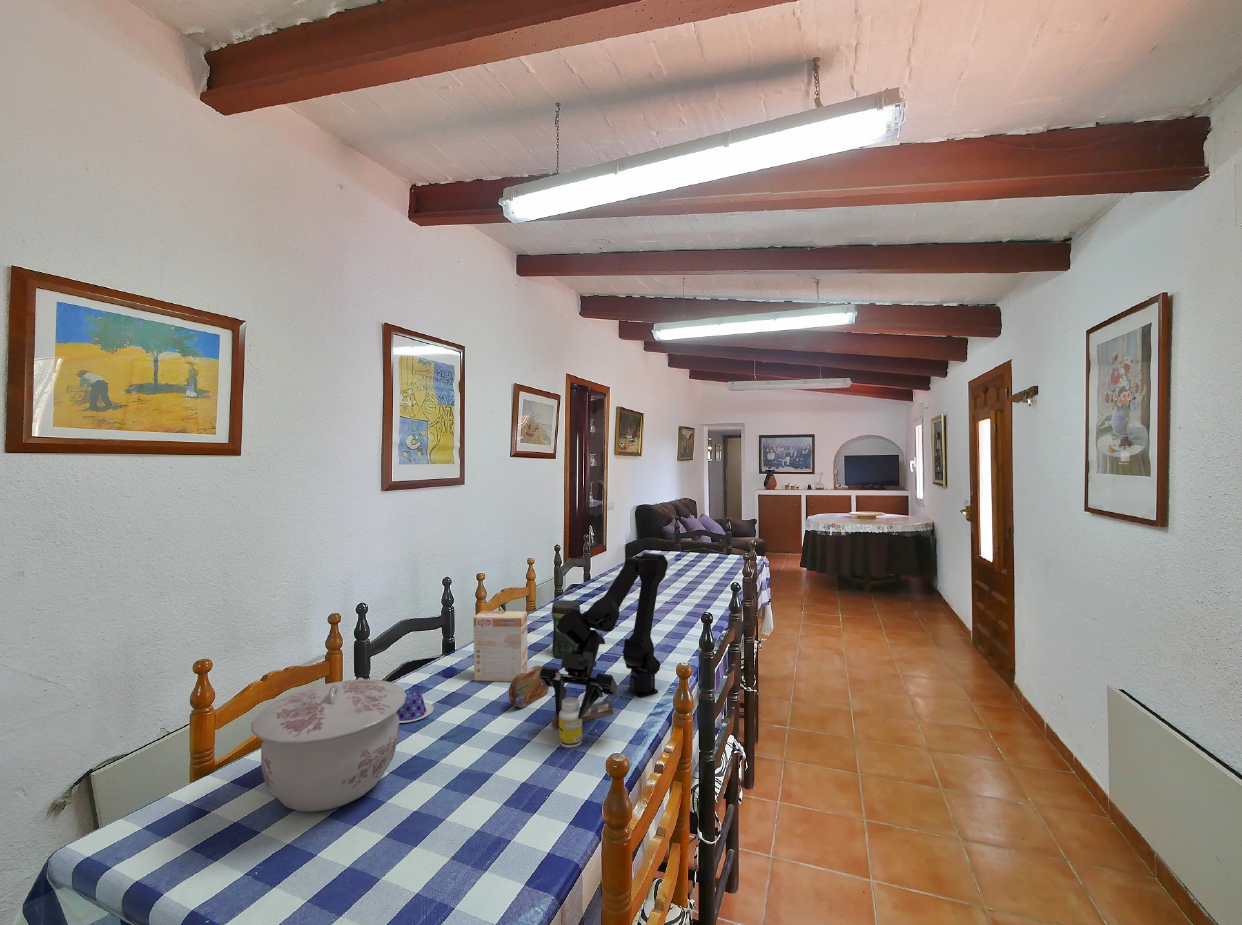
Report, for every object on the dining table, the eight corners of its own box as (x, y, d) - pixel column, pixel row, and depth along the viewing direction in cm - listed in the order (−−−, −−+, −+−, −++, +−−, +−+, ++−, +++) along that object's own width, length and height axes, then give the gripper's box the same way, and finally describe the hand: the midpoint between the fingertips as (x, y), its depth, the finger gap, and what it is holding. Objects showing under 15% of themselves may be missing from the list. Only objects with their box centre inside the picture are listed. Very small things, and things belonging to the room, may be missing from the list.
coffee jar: (583, 652, 184) (583, 598, 184) (575, 660, 176) (575, 604, 176) (558, 649, 187) (557, 597, 187) (548, 657, 179) (548, 602, 179)
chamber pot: (298, 858, 88) (297, 733, 88) (223, 803, 103) (223, 696, 103) (437, 774, 112) (436, 676, 112) (360, 739, 126) (360, 652, 126)
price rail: (607, 708, 141) (607, 695, 141) (613, 713, 138) (613, 699, 138) (551, 723, 133) (551, 709, 133) (556, 729, 130) (556, 714, 130)
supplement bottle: (559, 736, 127) (559, 695, 127) (582, 735, 127) (582, 695, 127) (558, 749, 121) (558, 706, 122) (582, 747, 122) (582, 705, 122)
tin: (515, 713, 139) (515, 680, 139) (506, 710, 141) (506, 678, 141) (551, 691, 152) (551, 662, 152) (543, 689, 154) (543, 660, 154)
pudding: (377, 714, 140) (377, 694, 140) (422, 700, 148) (422, 681, 148) (395, 730, 131) (394, 709, 131) (441, 714, 139) (441, 694, 139)
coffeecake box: (528, 673, 166) (527, 610, 166) (521, 682, 159) (521, 617, 159) (481, 671, 167) (481, 609, 167) (473, 680, 160) (472, 616, 160)
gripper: (541, 633, 131) (520, 697, 121) (613, 641, 125) (596, 708, 115) (555, 654, 139) (536, 716, 128) (623, 662, 133) (609, 727, 122)
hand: (568, 716), depth 123 cm, fingers closed on supplement bottle, 5 cm apart
